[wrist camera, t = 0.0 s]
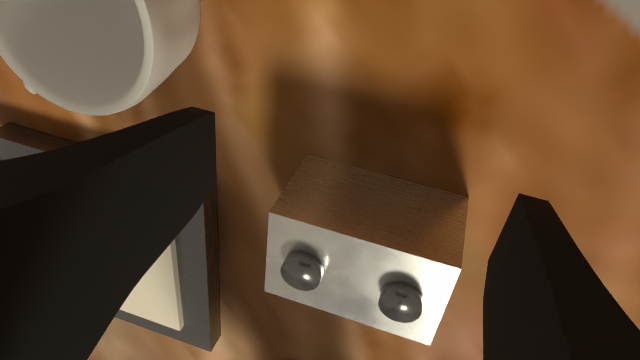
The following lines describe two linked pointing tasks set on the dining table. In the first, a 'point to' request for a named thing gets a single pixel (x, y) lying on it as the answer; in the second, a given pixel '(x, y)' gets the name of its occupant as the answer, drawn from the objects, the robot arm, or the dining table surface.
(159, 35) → the teacup
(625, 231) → the dining table surface
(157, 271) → the stand
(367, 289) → the block
